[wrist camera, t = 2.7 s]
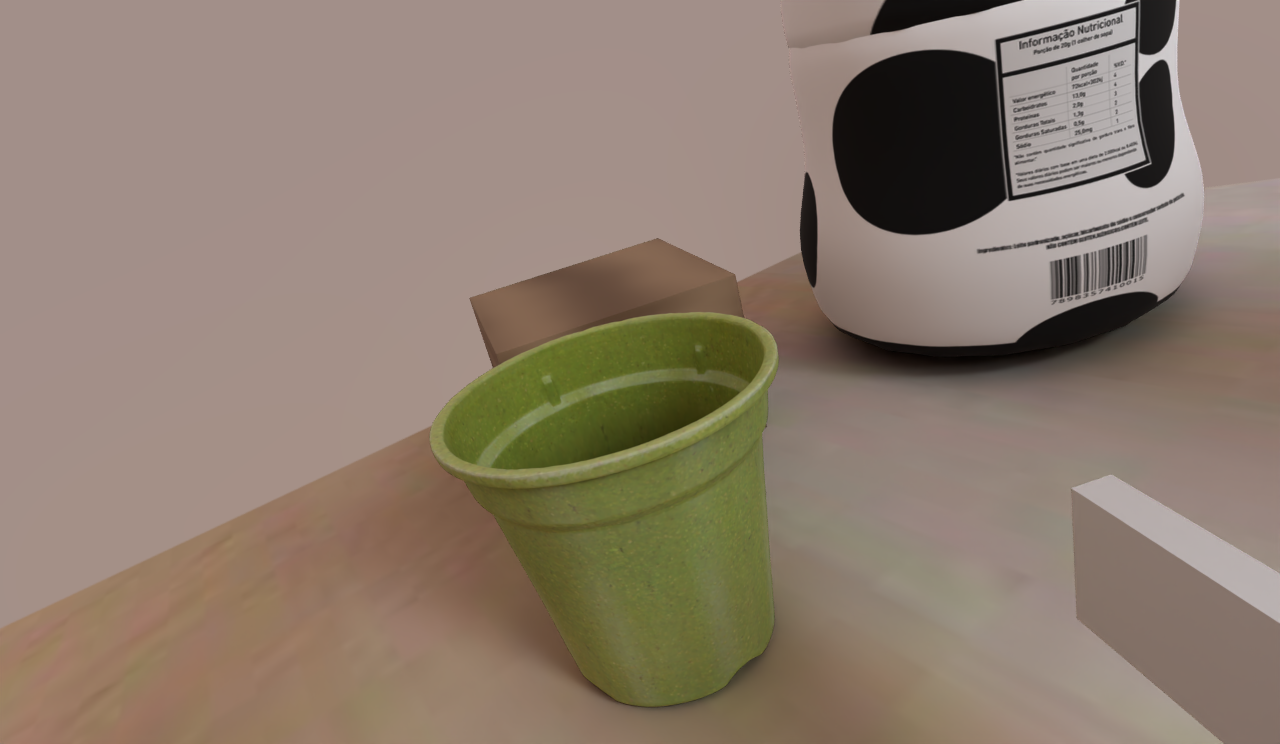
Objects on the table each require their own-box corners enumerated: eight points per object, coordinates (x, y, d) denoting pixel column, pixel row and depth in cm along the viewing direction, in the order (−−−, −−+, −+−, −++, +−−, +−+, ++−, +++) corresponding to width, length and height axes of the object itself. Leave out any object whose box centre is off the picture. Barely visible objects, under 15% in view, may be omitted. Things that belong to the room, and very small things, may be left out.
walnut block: (687, 361, 45) (657, 238, 42) (766, 426, 35) (735, 274, 33) (511, 423, 43) (469, 298, 40) (548, 509, 34) (496, 354, 31)
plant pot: (494, 787, 21) (374, 506, 18) (549, 565, 30) (475, 349, 27) (858, 737, 20) (799, 424, 17) (806, 521, 29) (760, 288, 25)
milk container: (913, 252, 52) (876, -55, 46) (1244, 254, 40) (1259, -168, 33) (751, 366, 42) (672, -10, 35) (1130, 416, 30) (1119, -149, 23)
